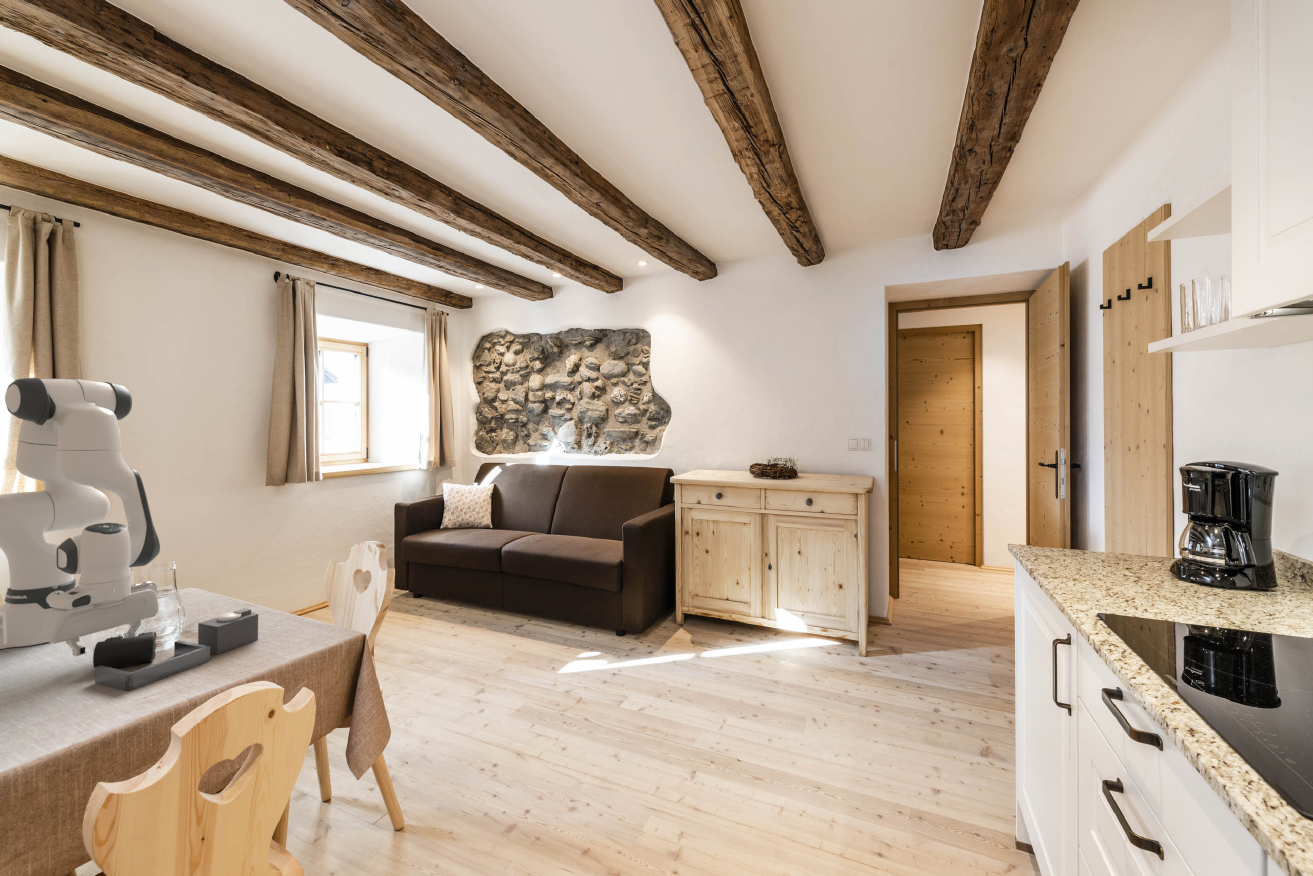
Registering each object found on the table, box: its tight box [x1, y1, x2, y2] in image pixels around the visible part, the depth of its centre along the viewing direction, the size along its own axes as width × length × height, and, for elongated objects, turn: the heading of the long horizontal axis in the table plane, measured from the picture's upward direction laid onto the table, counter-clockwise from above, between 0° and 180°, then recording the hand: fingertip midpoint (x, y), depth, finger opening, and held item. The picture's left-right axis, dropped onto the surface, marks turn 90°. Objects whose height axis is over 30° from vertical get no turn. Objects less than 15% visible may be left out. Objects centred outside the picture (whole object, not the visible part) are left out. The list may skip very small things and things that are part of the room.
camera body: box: [197, 607, 259, 655], centre depth 138 cm, size 7×10×8 cm
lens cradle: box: [94, 639, 211, 692], centre depth 122 cm, size 11×16×4 cm
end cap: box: [92, 631, 158, 669], centre depth 125 cm, size 10×7×7 cm
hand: (104, 647), depth 128 cm, fingers open, 8 cm apart
